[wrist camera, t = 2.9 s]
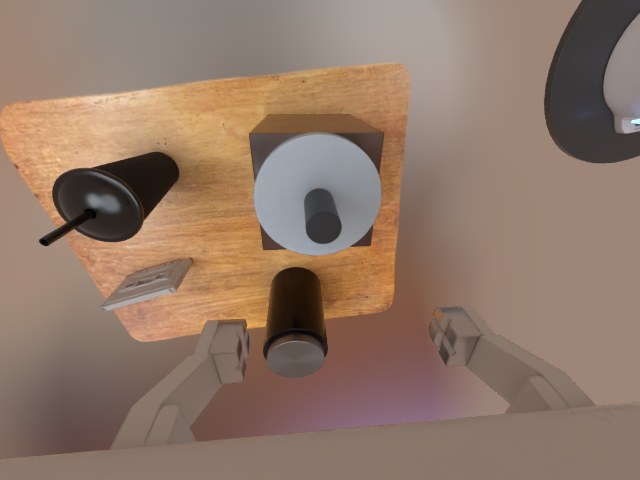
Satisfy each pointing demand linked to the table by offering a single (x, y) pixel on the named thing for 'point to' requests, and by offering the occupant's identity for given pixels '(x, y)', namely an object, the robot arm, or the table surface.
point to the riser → (288, 126)
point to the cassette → (148, 284)
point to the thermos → (295, 324)
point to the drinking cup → (111, 197)
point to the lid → (317, 193)
